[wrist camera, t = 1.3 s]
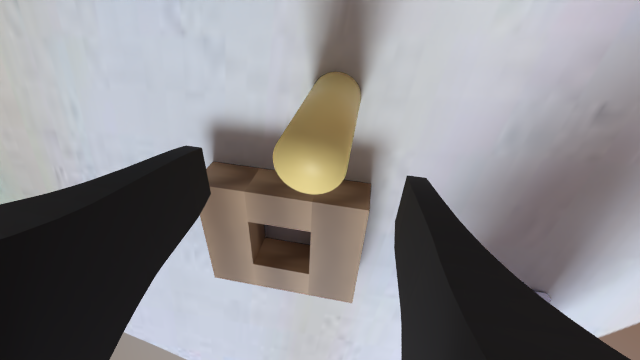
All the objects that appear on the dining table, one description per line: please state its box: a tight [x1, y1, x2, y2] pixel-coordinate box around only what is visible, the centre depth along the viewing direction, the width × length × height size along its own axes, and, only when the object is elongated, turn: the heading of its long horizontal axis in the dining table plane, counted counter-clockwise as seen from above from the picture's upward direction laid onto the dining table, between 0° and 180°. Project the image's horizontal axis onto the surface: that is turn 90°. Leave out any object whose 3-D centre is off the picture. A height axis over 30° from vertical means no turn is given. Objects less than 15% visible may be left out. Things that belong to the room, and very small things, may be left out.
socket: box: [200, 162, 371, 303], centre depth 24 cm, size 12×10×3 cm
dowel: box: [273, 72, 361, 194], centre depth 15 cm, size 3×3×8 cm
